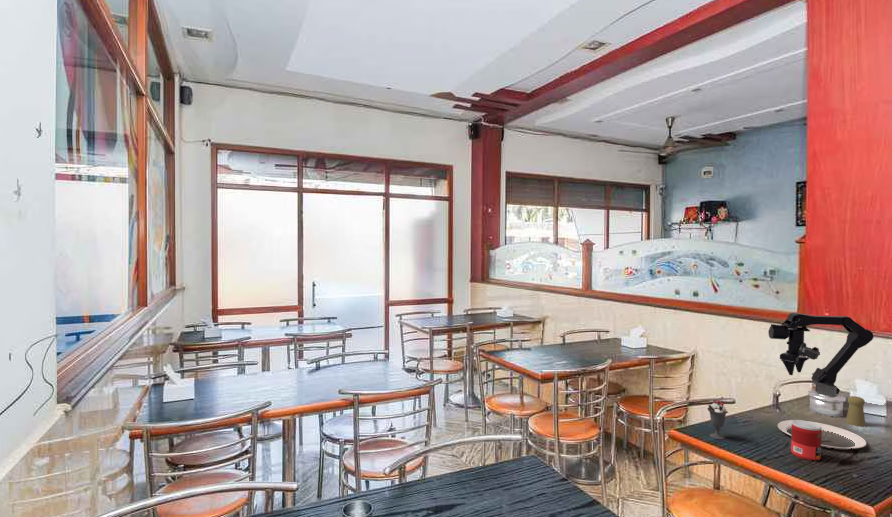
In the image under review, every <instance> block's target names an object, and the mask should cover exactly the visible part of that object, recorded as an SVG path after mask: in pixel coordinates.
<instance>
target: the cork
mask: <svg viewBox="0 0 892 517" xmlns="http://www.w3.org/2000/svg"><path fill="white" fill-rule="evenodd" d="M847 403H848V404H849V405H848V409H847V414H846V419H845V423H846V424H847V425H851V426H853V425H854V427H859V426H860V427H861V428H864V426H865V427H867V425H866V419H865V411H864V406H865V404H866V402H865V399H864V398H863V397H860V396H856V395H850V396H848V397H847ZM860 427H859V428H860Z"/></svg>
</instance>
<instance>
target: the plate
mask: <svg viewBox="0 0 892 517" xmlns="http://www.w3.org/2000/svg"><path fill="white" fill-rule="evenodd" d="M793 420H794V419H788V420H782V421H780V422H778V424H777V428H778V429H779V430H780V431H782V432H783V433H785V434H787V435H789V436H790V437H791V433H789V432H787V430H788V429H789V430H791V429H790V428H791V427H792V421H793ZM808 421H809V420H808ZM809 422H811V421H809ZM812 422H813V423H816V424H818V425H820V426H821V429H822V431H823V430H824V431H823V432H827V431H829V432H828V433H831V432H833V433H832V434H834V433H836V434H835V435H837V434H839V435H838V436H840V435H841V436H840V437H842V436H844V437H843V438H845V437H846V438H845V439H847V438H848V439H847V440H849V439H850V440H852V441H853V442H854V443H855V446H854V445H853V446H850V447H849V446H848V447H847V446H846V447H842V446H832V445H827V444H822V443H821V448H825V447H826V448H827V449H831V448H834V449H833V450H852V449H861V448H865V447H866V446H867V442H866V440H865V439H864V438H863V437H862V436H860V435H858V434H856V433H853V432H852V431H850V430H847V429H844V428H841V427H838V426H834V425H831V424H827V423H821V422H816V421H812ZM789 430H788V431H789ZM850 440H849V441H850ZM852 441H851V442H852ZM853 442H852V443H853ZM854 443H853V444H854ZM826 448H825V449H826ZM851 448H852V449H851Z"/></svg>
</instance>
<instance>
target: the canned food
mask: <svg viewBox="0 0 892 517" xmlns="http://www.w3.org/2000/svg"><path fill="white" fill-rule="evenodd" d="M792 420H793V421H792V427H791V429H790V430H791V431H790V432H791V433H790V434H791V436H790V437H791V438H790V440H791V441H790V451H791V454H792V455H793V456H795V457H796V456H797V458H799V459H802V460H805V459H807V460H806V461H810V460H814V461H813V462H816V461H815V460H818V461H820V460H821V456H822V447H821V444H822V435H823V434H822V432H823V430H822V429H821V426H820V425H818V424H816V423H813V422H814V421H810V422H809V420H803V419H792Z"/></svg>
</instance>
